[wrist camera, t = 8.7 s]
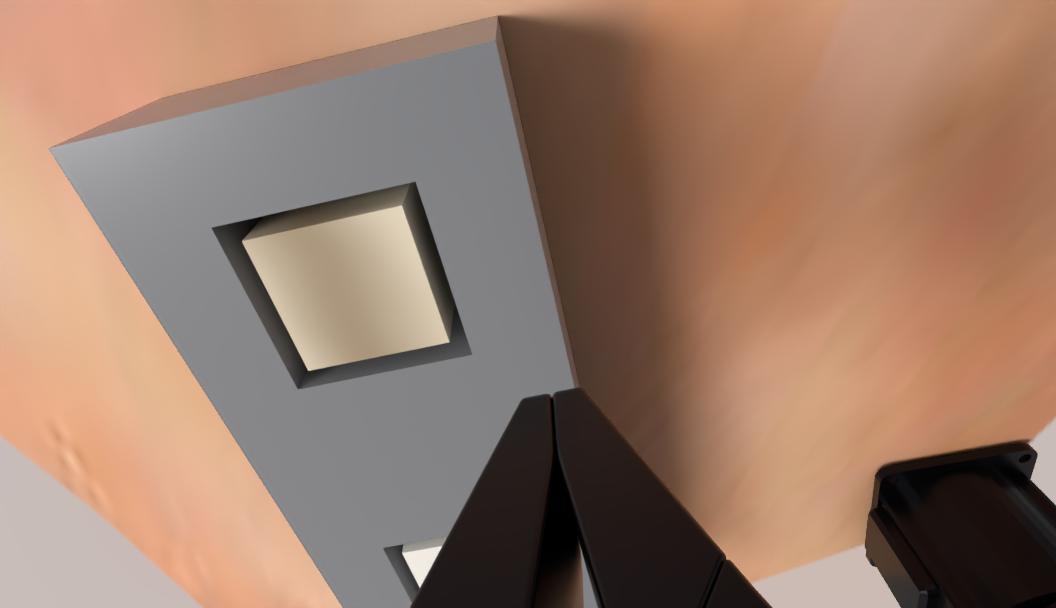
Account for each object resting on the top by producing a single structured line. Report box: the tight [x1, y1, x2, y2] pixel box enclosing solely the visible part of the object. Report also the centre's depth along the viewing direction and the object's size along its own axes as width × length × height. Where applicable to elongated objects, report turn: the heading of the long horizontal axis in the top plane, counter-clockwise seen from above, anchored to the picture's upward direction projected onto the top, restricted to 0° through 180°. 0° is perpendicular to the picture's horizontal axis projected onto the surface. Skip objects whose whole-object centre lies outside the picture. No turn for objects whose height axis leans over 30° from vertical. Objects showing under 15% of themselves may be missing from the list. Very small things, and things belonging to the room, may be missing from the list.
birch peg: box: [242, 182, 455, 371], centre depth 17 cm, size 4×4×5 cm
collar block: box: [49, 16, 597, 608], centre depth 20 cm, size 10×22×5 cm, turn 12°
